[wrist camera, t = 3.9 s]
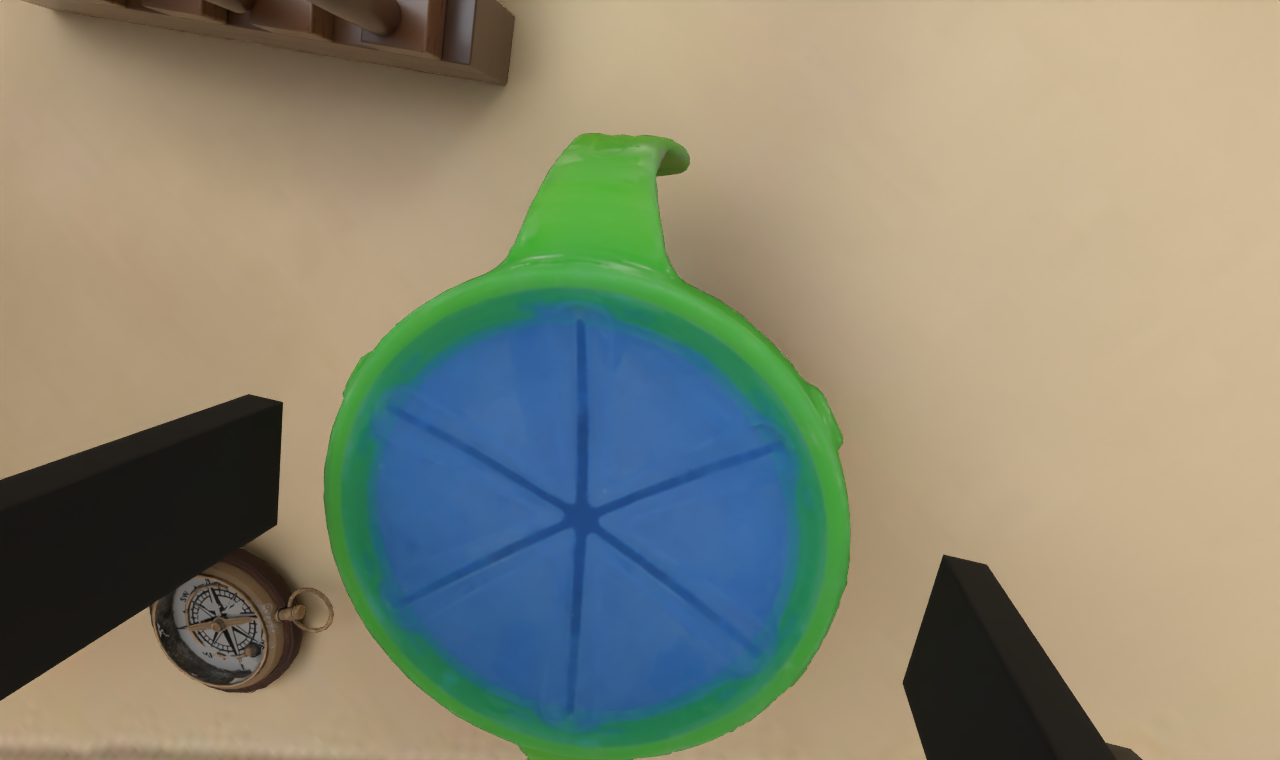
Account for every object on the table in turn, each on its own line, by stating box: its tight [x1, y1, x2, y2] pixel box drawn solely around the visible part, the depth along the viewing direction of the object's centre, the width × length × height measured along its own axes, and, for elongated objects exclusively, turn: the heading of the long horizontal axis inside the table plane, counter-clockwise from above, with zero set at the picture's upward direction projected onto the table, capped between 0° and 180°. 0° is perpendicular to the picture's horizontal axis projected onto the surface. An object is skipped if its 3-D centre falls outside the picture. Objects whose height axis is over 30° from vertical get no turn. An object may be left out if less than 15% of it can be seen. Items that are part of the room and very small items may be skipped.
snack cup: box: [324, 133, 850, 760], centre depth 18 cm, size 16×10×10 cm
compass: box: [149, 549, 334, 693], centre depth 24 cm, size 8×8×7 cm
